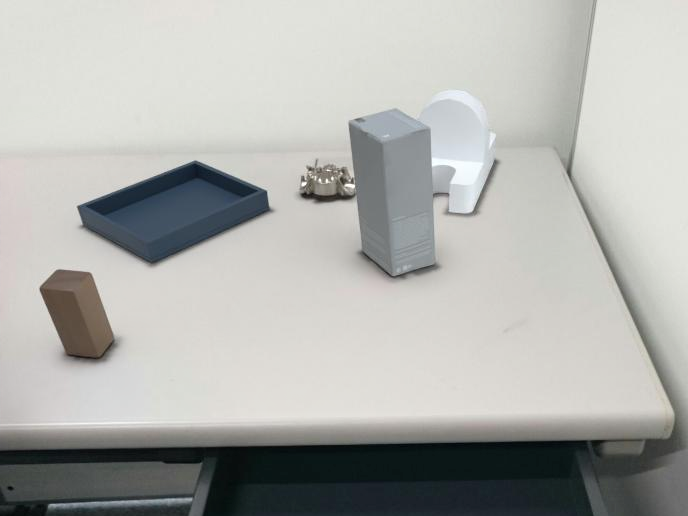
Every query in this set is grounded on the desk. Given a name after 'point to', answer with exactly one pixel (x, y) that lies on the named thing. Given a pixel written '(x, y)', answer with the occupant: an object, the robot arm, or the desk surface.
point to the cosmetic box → (394, 190)
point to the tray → (173, 210)
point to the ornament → (327, 181)
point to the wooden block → (77, 312)
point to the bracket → (459, 147)
